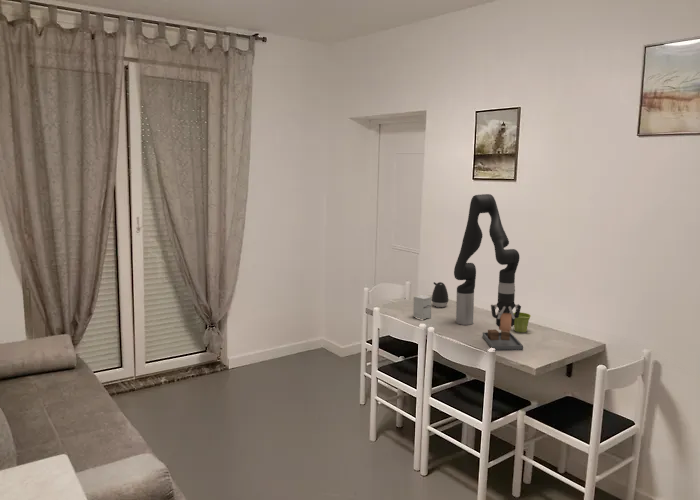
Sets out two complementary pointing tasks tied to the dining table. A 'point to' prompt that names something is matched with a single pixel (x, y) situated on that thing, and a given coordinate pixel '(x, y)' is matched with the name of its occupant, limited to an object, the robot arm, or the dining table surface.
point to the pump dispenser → (440, 295)
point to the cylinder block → (505, 322)
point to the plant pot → (521, 322)
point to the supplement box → (422, 306)
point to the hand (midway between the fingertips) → (505, 326)
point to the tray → (503, 342)
